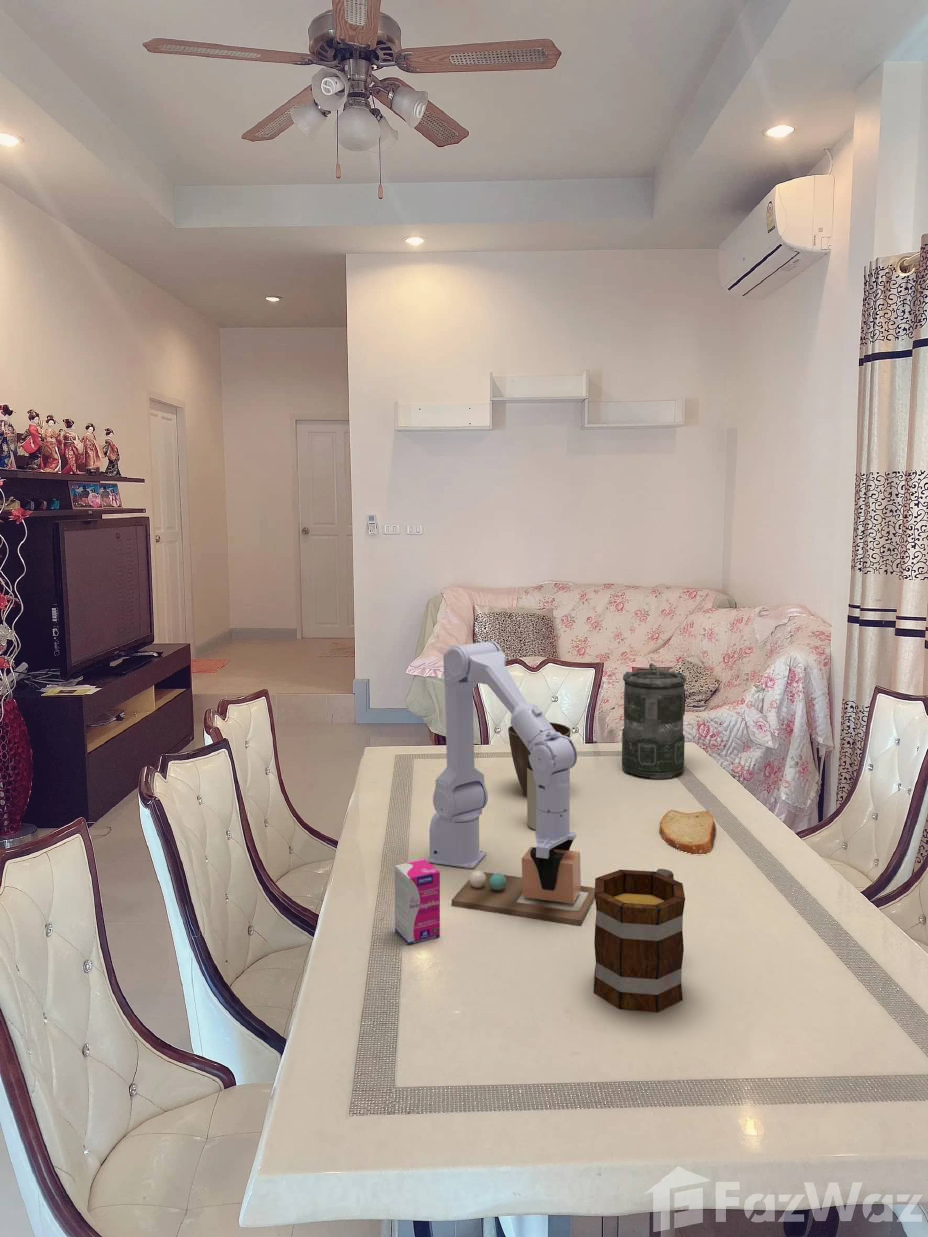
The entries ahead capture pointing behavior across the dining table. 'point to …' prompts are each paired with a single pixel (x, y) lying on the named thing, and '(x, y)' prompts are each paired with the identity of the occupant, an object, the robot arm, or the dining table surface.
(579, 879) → the terracotta cover
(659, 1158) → the dining table surface
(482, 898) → the walnut board
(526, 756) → the plant pot
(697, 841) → the slice of bread
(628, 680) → the canister
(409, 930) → the supplement box
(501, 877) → the teal marble
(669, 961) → the mug
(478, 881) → the cream marble
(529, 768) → the travel mug
